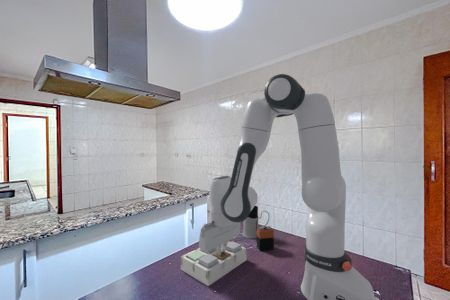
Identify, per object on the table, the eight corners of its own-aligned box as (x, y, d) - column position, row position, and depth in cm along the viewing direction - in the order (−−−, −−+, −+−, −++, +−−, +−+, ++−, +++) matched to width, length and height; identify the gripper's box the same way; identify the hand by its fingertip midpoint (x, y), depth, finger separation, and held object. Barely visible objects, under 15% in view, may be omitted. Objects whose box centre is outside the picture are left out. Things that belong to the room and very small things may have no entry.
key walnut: (230, 261, 84) (230, 253, 83) (221, 266, 80) (221, 258, 80) (220, 256, 87) (220, 249, 87) (212, 261, 83) (212, 254, 83)
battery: (256, 246, 101) (256, 225, 100) (270, 245, 102) (270, 224, 102) (259, 251, 96) (259, 229, 96) (274, 249, 98) (274, 228, 97)
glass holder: (245, 230, 120) (245, 203, 120) (271, 234, 114) (271, 206, 114) (240, 236, 112) (240, 208, 112) (267, 241, 106) (267, 211, 106)
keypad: (246, 260, 89) (246, 244, 89) (208, 286, 72) (208, 267, 72) (219, 248, 99) (219, 234, 99) (180, 269, 82) (180, 252, 82)
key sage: (204, 262, 83) (204, 254, 83) (194, 267, 79) (194, 259, 79) (196, 257, 86) (196, 250, 86) (186, 263, 82) (186, 255, 82)
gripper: (207, 228, 73) (207, 268, 73) (243, 213, 89) (243, 247, 89) (195, 223, 77) (195, 261, 78) (231, 210, 93) (231, 242, 93)
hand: (221, 253), depth 83 cm, fingers closed, pressing on key walnut
